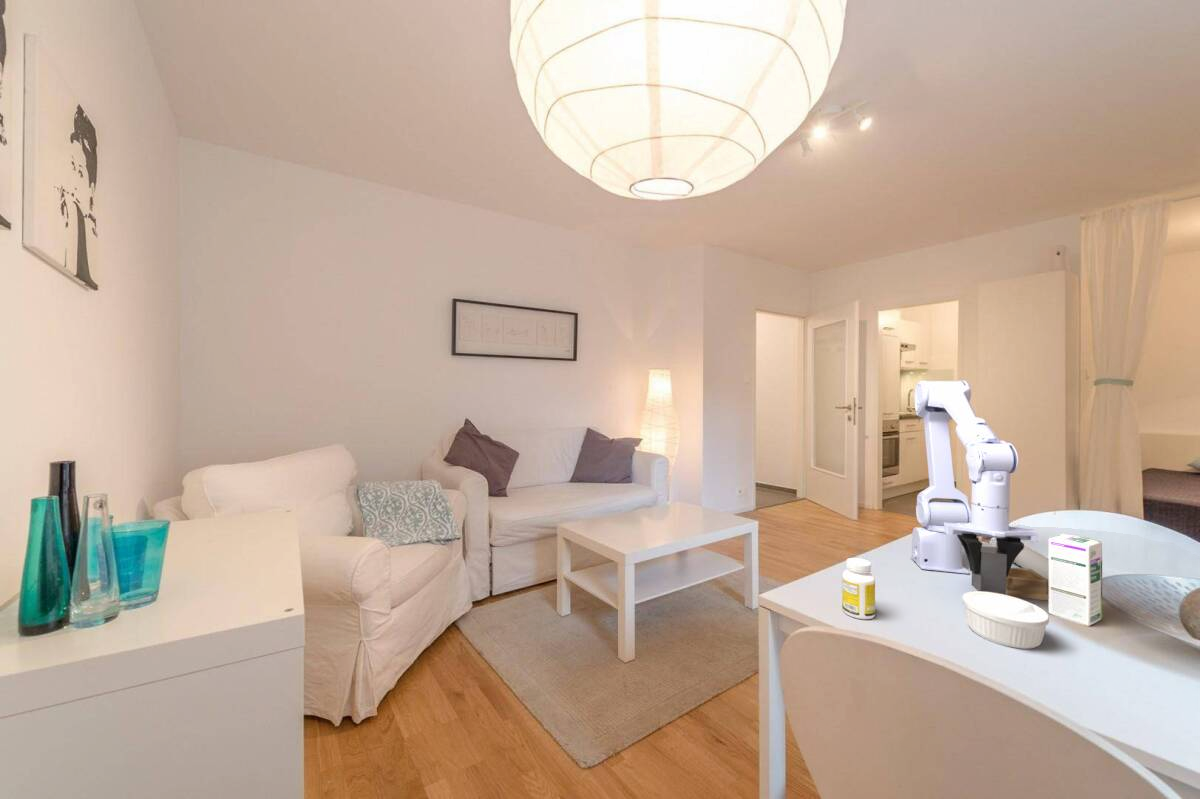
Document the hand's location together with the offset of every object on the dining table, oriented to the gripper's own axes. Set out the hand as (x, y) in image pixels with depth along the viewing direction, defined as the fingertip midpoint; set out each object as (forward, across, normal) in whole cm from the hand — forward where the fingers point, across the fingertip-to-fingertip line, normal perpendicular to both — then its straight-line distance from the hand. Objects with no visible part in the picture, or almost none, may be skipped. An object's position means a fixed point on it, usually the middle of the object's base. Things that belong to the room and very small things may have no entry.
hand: (988, 573), depth 92 cm
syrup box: (+6, +13, -1) cm, 14 cm away
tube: (+6, +18, +20) cm, 28 cm away
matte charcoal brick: (+3, 0, 0) cm, 3 cm away
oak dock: (+6, +9, +9) cm, 14 cm away
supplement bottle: (+6, -25, -12) cm, 28 cm away
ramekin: (+6, -3, -13) cm, 15 cm away
